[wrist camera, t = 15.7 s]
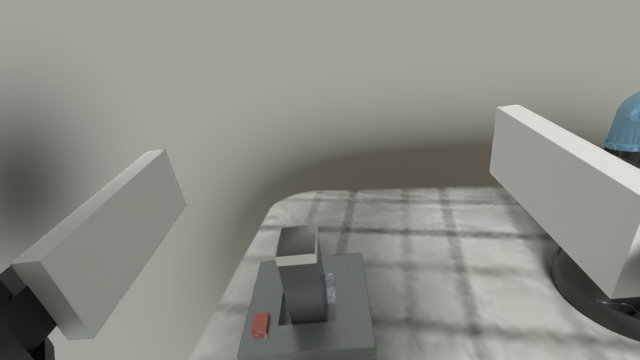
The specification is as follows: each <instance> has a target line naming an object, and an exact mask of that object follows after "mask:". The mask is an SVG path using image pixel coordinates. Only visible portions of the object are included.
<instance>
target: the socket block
mask: <svg viewBox="0 0 640 360" xmlns="http://www.w3.org/2000/svg"><path fill="white" fill-rule="evenodd" d="M321 258H322V264H323V270H324V277H325V283H326V289H327V317H328V322H320V323H307V324H293V325H292V323H291V319H290V315H289V311H288V307H287V303H286V298H285V294H284V290H283V286H282V282H281V278H280V274H279V270H278V267H277V264H276V261H266V262H261V264H260V268H259V272H258V276H257V280H256V284H255V288H254V292H253V296H252V299H251V303H250V307H249V311H248V315H247V319H246V323H245V327H244V331H243V335H242V339H241V343H240V347H239V351H238V354H237V357H238V360H376V348H375V341H374V334H373V327H372V320H371V313H370V307H369V300H368V293H367V286H366V280H365V273H364V266H363V259H362V253H357V254H345V255H334V256H323V257H321Z"/></svg>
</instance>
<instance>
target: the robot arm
mask: <svg viewBox="0 0 640 360" xmlns="http://www.w3.org/2000/svg"><path fill="white" fill-rule="evenodd" d="M604 145H605V148H604V150H603V149H600V148H599V147H597V146H595V145H593V144H591V143H589V142H588V141H586V140H584V139H582V138H580V137H578V136H576V135H574V134H573V133H571V132H569V131H567V130H565V129H563V128H561V127H559V126H557V125H555V124H554V123H552V122H550V121H548V120H546V119H544V118H542V117H540V116H539V115H537V114H535V113H533V112H531V111H529V110H527V109H526V108H524V107H522V106H520V105H510V106H502V107H497V111H496V120H495V128H494V138H493V146H492V155H491V163H490V173H491V174H492V175H493V176H494V177H495V179H496V180H497V181H498V182H499V183H500V184H501V185H502V186H503V187H504V188H505V189H506V190H507V191H508V192H509V193H510V194H511V195H512V196H513V197H514V198H515V199H516V201H517V202H518V203H519V204H520V205H521V206H522V207H523V208H524V209H525V210H526V211H527V212H528V213H529V214H530V215H531V216H532V217H533V218H534V219H535V220H536V221H537V223H538V224H539V225H540V226H541V227H542V228H543V229H544V230H545V231H546V232H547V233H548V234H549V235H550V236H551V237H552V238H553V239H554V240H555V241H556V242H557V243H558V245H559V247H558V249H557V250H556V253H555V256H554V259H553V263H552V267H551V274H552V278H553V281H554V283H555V285H556V287H557V288H558V290H559V291H560V293H561V294H562V295H563V296H564V297H565V298H566V299H567V300H568V301H569V302H570V303H571V304H572V305H573V306H574V307H575V308H577V309H578V310H579V311H580V312H582V313H583V314H585V315H586V316H587V317H589V318H591V319H592V320H594V321H595V322H597V323H599V324H601V325H602V326H604V327H606V328H608V329H610V330H612V331H615V332H617V333H619V334H621V335H624V336H626V337H629V338H632V339H635V340H638V341H640V92H638V93H636V94H634V95H632V96H631V97H629V98H628V99H626V100H625V101H624V102H623V103H622V104H621V106H620V107H619V108H618V110H617V112H616V115H615V118H614V121H613V123H612V126H611V128H610V131H609V134H608V135H607V136H606V137H605V139H604ZM186 206H187V204H186V202H185V199H184V197H183V194H182V191H181V189H180V186H179V184H178V181H177V179H176V176H175V173H174V171H173V168H172V166H171V163H170V161H169V158H168V156H167V153H166V151H165V149H161V150H154V151H147V152H146V153H145V154H143V155H142V156H141V157H140V158H138V159H137V160H136V161H135V162H134V163H132V164H131V165H130V166H129V167H127V168H126V169H125V170H124V171H123V172H121V173H120V174H119V175H118V176H116V177H115V178H114V179H113V180H112V181H110V182H109V183H108V184H107V185H106V186H104V187H103V188H102V189H101V190H99V191H98V192H97V193H96V194H94V195H93V196H92V197H91V198H90V199H88V200H87V201H86V202H85V203H83V205H81V206H80V207H79V208H77V209H76V210H75V211H74V212H72V213H71V214H70V215H69V216H68V217H66V218H65V219H64V220H63V221H61V222H60V223H59V224H58V225H57V226H55V227H54V228H53V229H52V230H50V231H49V232H48V233H47V234H46V235H44V236H43V237H42V238H41V239H40V240H38V241H37V242H36V243H35V244H33V245H32V246H31V247H30V248H29V249H27V250H26V251H25V252H24V253H22V254H21V255H20V256H19V257H18V258H17V259H15V260H14V261H13V262H11V263H10V265H11V266H10V267H9V268H7V269H6V270H5V271H3V272H2V273H1V274H0V360H55V357H54V346H53V344H52V342H51V341H50V340H49V338H48V337H47V336H48V335H49V334H50V333H51V331H52V330H53V329H54V328H55V327H56V326H58V328H59V329H60V330H61V332H62V333H63V334H64V336H65V337H66V338H67V339H68V340H78V339H91V338H95V336H96V335H97V333H98V332H99V331H100V329H101V328H102V326H103V325H104V323H105V322H106V321H107V319H108V318H109V316H110V315H111V313H112V312H113V311H114V309H115V308H116V306H117V305H118V304H119V302H120V301H121V299H122V298H123V296H124V295H125V293H126V292H127V290H128V289H129V288H130V286H131V285H132V283H133V282H134V281H135V279H136V278H137V276H138V275H139V273H140V272H141V271H142V269H143V268H144V266H145V265H146V263H147V262H148V261H149V259H150V258H151V256H152V255H153V253H154V252H155V251H156V249H157V248H158V246H159V245H160V243H161V242H162V241H163V239H164V238H165V236H166V235H167V233H168V232H169V231H170V229H171V228H172V226H173V225H174V223H175V222H176V220H177V219H178V218H179V216H180V215H181V213H182V212H183V210H184V209H185V207H186Z"/></svg>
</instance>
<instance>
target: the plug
mask: <svg viewBox="0 0 640 360" xmlns="http://www.w3.org/2000/svg"><path fill="white" fill-rule="evenodd" d="M275 260H276V264H277V267H278V270H279V274H280V278H281V282H282V286H283V290H284V294H285V298H286V303H287V307H288V311H289V315H290V319H291V323H292V325H293V324H307V323H320V322H328V317H327V289H326V283H325V277H324V270H323V264H322V258H321V252H320V245H319V239H318V230H317V224H312V225H302V226H291V227H281V230H280V235H279V240H278V245H277V250H276V255H275Z"/></svg>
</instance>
